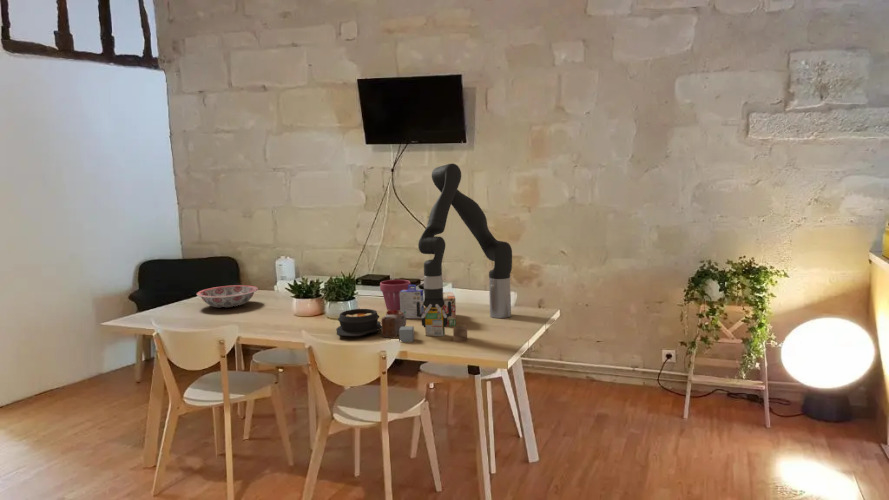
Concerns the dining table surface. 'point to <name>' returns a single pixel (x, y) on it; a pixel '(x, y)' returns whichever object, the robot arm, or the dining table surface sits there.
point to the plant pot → (393, 292)
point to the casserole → (358, 322)
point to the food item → (392, 323)
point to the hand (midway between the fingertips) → (434, 326)
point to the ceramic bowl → (227, 295)
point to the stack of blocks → (452, 318)
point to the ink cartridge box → (411, 301)
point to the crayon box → (434, 323)
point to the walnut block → (460, 333)
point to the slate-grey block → (406, 333)
